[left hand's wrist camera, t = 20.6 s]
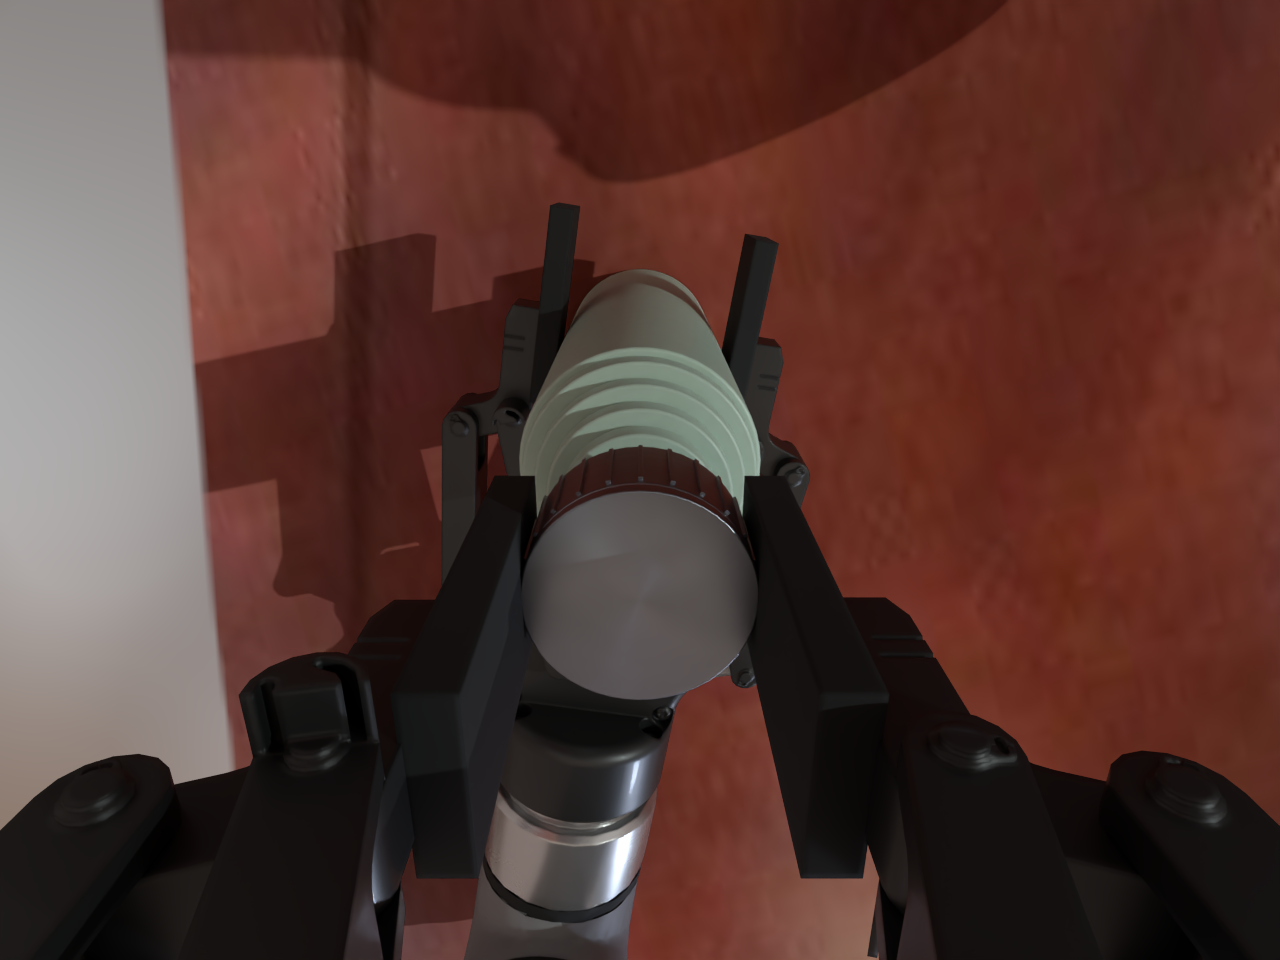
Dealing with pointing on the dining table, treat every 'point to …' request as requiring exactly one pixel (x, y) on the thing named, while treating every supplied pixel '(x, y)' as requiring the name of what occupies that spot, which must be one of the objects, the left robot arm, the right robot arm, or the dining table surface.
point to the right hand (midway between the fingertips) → (663, 223)
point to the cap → (639, 575)
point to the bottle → (639, 386)
